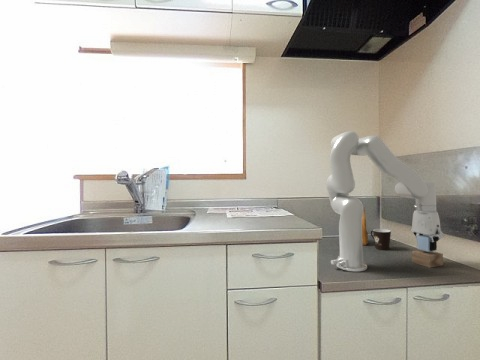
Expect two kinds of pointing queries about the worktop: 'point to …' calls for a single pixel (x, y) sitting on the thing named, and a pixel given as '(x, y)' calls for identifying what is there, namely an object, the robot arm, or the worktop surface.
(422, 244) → the blue block
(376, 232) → the coffee mug
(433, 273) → the worktop surface
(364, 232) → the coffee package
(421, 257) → the block
